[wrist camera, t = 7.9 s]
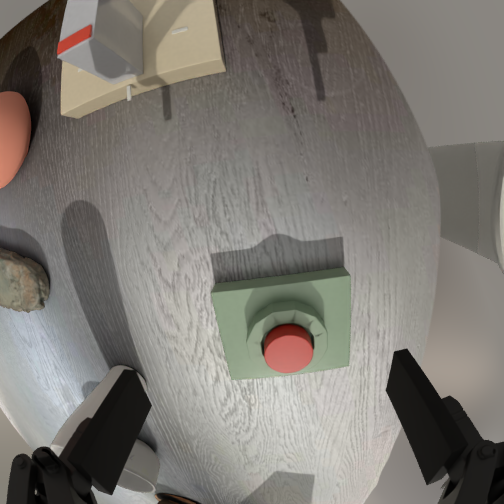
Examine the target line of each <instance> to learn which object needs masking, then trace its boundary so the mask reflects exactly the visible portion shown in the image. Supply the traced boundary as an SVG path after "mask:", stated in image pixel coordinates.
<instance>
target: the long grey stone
mask: <svg viewBox="0 0 504 504" xmlns="http://www.w3.org/2000/svg"><path fill="white" fill-rule="evenodd" d="M48 297H49V282H48V278H47V275H46V273H45V271H44V269H43V268H42V266H41V265H40V264H37V263H36V262H35V261H33V260H32V259H30V258H27V257H25V258H23V257H22V256H20V255H18V254H17V253H15V252H12V251H8V250H4V249H3V248H1V247H0V305H1V306H2V307H4V308H5V307H6V308H8V309H10V308H12V309H13V310H15V311H18V312H20V311H24V312H25V311H26V312H27V313H29V312H30V311H33V310H41V309H43V308H44V307H45V305H44V301H45V300H47V299H48Z"/></svg>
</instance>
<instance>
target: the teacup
mask: <svg viewBox="0 0 504 504" xmlns="http://www.w3.org/2000/svg"><path fill="white" fill-rule="evenodd" d="M159 469H160V462H159V459H158V457H157V455H156V454H155V453H154V452H153V450H152V449H151V448H150V447H149V446H148V445H147V444H146V443H144V442H142V441H141V440H139V439H136V442H135V444H134V446H133V448H132V450H131V453H130V455H129V457H128V460H127V462H126V464H125V466H124V469H123V471H122V473H121V476H120V478H119V480H118V483H117V485H118V486H121V487H123V488H126V489H129V490H132V491H136V492H141V493H153V492H155V490H156V483H157V479H158V475H159Z"/></svg>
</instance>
